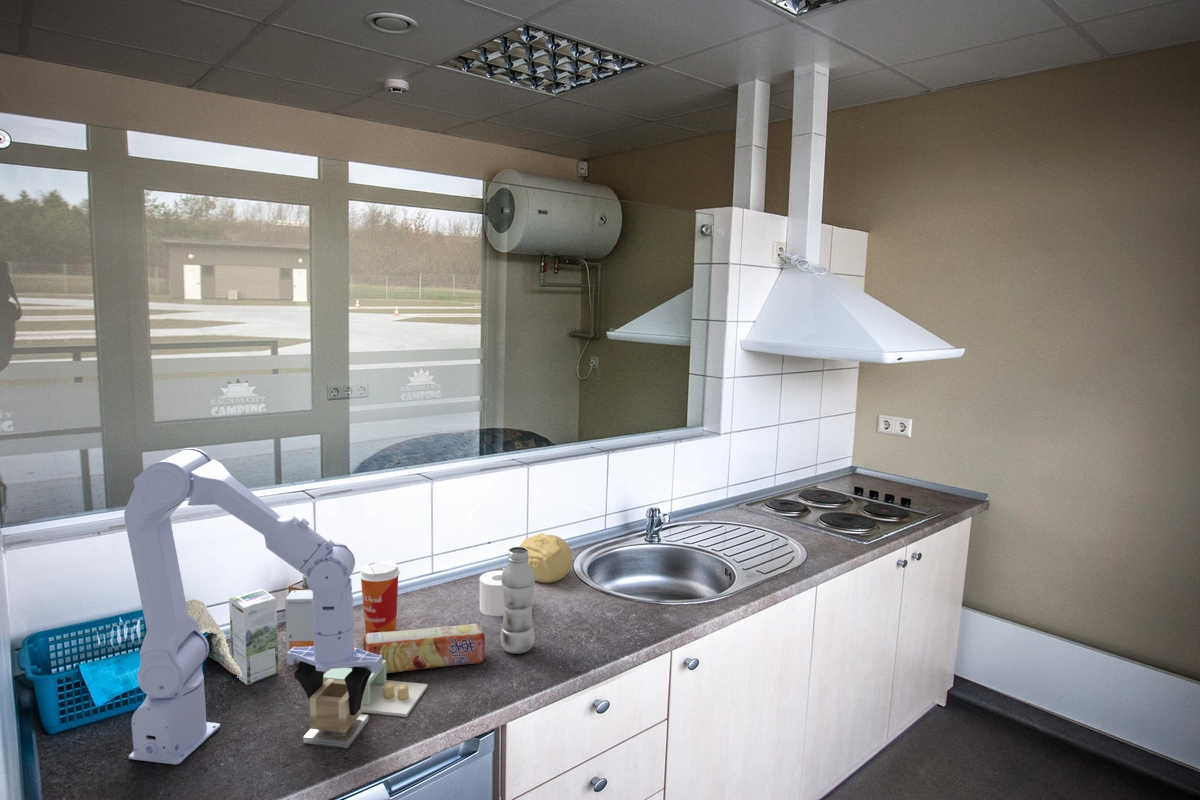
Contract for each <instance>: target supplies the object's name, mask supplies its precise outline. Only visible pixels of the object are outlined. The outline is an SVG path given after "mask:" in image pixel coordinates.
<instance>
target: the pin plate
mask: <svg viewBox="0 0 1200 800" xmlns="http://www.w3.org/2000/svg"><path fill="white" fill-rule="evenodd" d="M369 716H370V715H369V714H364V713H361V714H360V716H359V717H358V718H357V719H356V721H355V722H354V723H353V724H352V725H351V727H350V728H349V729H348V730H347V732H346V733H342V732H333V731H325V730H316V729H311V728H310V729H309V730H308V731H307V732H306V733H305V735H304V736H303V738H302V739H303V744H311V745H320V746H325V747H326V746H327V747H334V748H336V747H337V748H344V749H348V748H349V747H350V745H351V744H352V743H353V742H354V740H355V739H356V738H357V736H358V735H359V734H360V732H361V731H362V730H363V729H364V727H365V726H366V725H367V724H368V722H369Z"/></svg>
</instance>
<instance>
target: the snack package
mask: <svg viewBox="0 0 1200 800" xmlns="http://www.w3.org/2000/svg"><path fill="white" fill-rule="evenodd" d="M485 638H486V637H485V633H484V631H483V628H482V626H480V624H478V623H470V624H460V625H450V626H437V627H427V628H417V629H409V630H407V629H406V630H396V631H392V632H377V633H367V634H366V633H365V635H364V637H363V640H362V641H363V645H362V646H363V650H364V651H367V652H370V653H373V654H377V655H382V658H383V660H386V674H391V673H400V672H401V673H402V672H409V671H410V672H411V671H417V670H423V669H424V670H425V669H432V668H442V667H448V666H449V667H451V666H459V665H469V664H470V665H471V664H480V663H482V662H483V661H484V659H485V655H486V650H485V649H486V639H485Z"/></svg>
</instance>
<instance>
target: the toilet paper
mask: <svg viewBox="0 0 1200 800" xmlns="http://www.w3.org/2000/svg"><path fill="white" fill-rule="evenodd" d="M505 568H506V567H502V570H491V571H487V572H484V573H482V574H481V575H480V576H479V612H480V613H481V614H483V615H485V616H489V617H503V616H504V597H503V589H502V581H501V576H502V573H503V571H504V569H505Z"/></svg>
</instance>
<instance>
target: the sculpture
mask: <svg viewBox="0 0 1200 800" xmlns="http://www.w3.org/2000/svg"><path fill="white" fill-rule="evenodd" d="M519 547H524V548H526V549H528V557H529V560H528V561H527V562H528V564H529V565H530V566H531V568H532V569H533V571H534V574H535V582H538V583H543V584H551V583H554V582H558V581H559V580H562V579H564V578H566V576H567V575H568V574H569V572H570V570H571V568H572V564H573V553H572V550H571V548H570V546H569V544H568V542H566V540H564V539H563V538H562V537H559V536H557V535H554V534H544V533H539V534H537V535H533V536H529V537H526V538H524V540H523V541H522V543H521V544H520V546H519Z"/></svg>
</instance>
